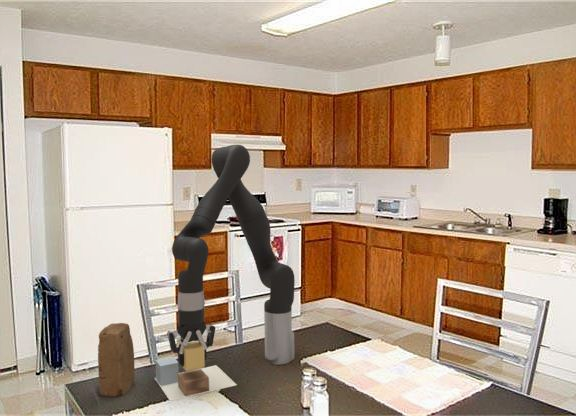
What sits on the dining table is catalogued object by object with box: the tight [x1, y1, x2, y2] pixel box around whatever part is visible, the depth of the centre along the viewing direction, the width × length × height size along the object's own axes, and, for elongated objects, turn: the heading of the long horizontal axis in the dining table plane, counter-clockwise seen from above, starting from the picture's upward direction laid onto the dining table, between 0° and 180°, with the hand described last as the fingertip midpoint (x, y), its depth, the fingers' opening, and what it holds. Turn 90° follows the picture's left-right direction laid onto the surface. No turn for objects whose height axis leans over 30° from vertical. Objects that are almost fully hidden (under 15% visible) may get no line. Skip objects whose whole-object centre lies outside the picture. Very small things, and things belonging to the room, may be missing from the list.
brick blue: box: [155, 356, 180, 386], centre depth 150 cm, size 6×6×6 cm
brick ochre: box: [181, 341, 206, 372], centre depth 143 cm, size 6×6×6 cm
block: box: [97, 322, 135, 397], centre depth 144 cm, size 11×8×20 cm
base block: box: [178, 368, 209, 397], centre depth 144 cm, size 7×7×4 cm
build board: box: [154, 364, 238, 402], centre depth 149 cm, size 20×17×1 cm
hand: (192, 363), depth 144 cm, fingers closed on brick ochre, 5 cm apart
